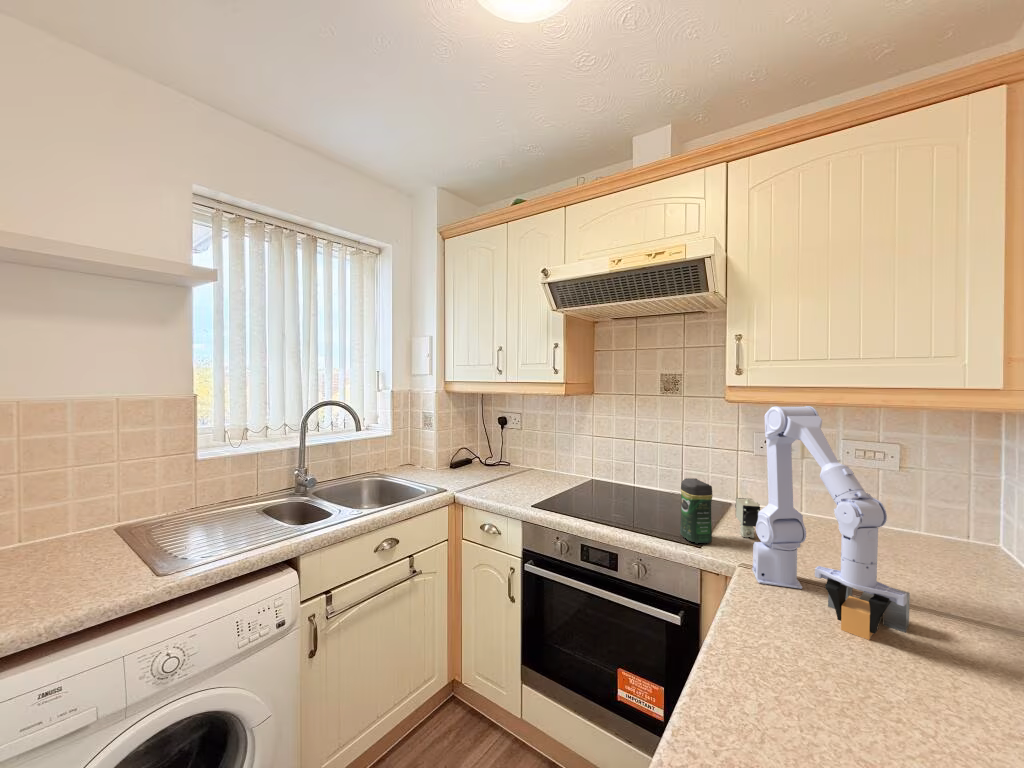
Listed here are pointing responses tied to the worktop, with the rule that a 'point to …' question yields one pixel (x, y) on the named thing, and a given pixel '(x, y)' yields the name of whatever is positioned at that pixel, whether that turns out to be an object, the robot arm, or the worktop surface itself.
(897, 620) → the grey arch bracket
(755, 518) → the pneumatic valve
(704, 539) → the coffee jar
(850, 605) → the plug
